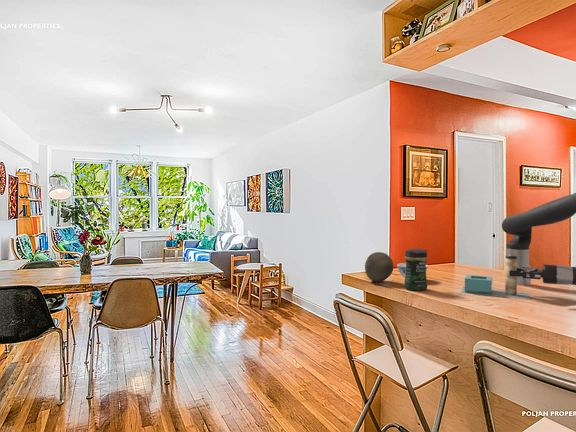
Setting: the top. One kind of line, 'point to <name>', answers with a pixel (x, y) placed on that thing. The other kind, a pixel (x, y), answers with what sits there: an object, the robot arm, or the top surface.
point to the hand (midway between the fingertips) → (509, 271)
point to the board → (502, 294)
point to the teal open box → (478, 284)
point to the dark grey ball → (378, 266)
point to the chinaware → (404, 268)
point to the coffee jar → (415, 269)
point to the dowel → (511, 280)
